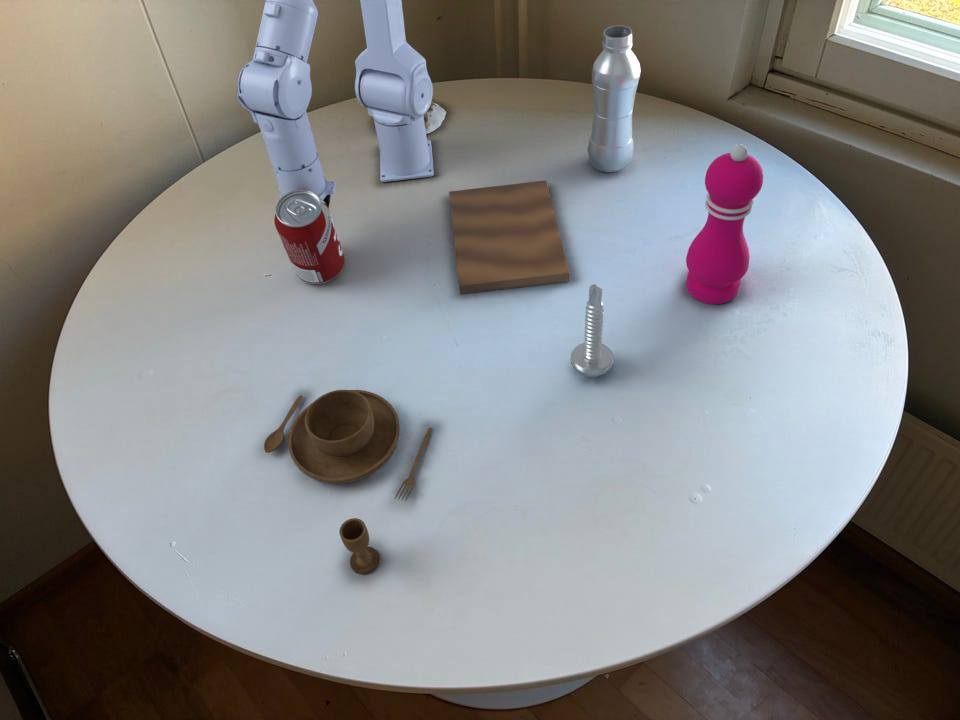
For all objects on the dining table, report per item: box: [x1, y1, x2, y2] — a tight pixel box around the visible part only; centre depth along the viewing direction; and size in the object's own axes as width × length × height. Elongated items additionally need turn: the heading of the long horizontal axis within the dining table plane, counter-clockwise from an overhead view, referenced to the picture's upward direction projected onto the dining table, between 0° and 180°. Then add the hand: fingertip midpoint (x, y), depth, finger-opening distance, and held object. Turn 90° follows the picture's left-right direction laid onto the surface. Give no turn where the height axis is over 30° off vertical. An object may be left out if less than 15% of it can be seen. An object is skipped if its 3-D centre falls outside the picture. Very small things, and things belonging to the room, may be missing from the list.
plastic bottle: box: [587, 25, 642, 173], centre depth 106 cm, size 6×7×20 cm
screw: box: [569, 284, 615, 379], centre depth 82 cm, size 13×5×5 cm
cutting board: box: [448, 179, 571, 295], centre depth 103 cm, size 20×14×2 cm
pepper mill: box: [685, 143, 764, 305], centre depth 87 cm, size 7×7×20 cm
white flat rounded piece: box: [423, 98, 448, 135], centre depth 124 cm, size 12×12×4 cm
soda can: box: [273, 190, 346, 285], centre depth 96 cm, size 7×7×12 cm
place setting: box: [263, 389, 433, 575], centre depth 78 cm, size 18×20×6 cm
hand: (320, 244), depth 103 cm, fingers closed, pressing on soda can
